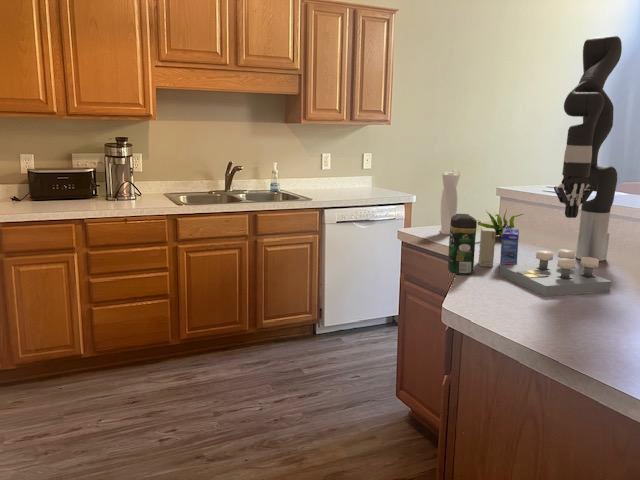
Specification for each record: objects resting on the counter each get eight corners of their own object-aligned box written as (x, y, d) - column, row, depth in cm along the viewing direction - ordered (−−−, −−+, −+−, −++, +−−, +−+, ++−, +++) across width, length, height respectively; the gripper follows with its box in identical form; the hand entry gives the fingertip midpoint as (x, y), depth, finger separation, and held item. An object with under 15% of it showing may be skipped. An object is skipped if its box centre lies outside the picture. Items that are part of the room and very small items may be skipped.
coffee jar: (445, 267, 184) (449, 211, 180) (470, 268, 184) (474, 212, 180) (449, 275, 175) (453, 216, 171) (474, 276, 174) (479, 217, 170)
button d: (566, 274, 166) (568, 257, 165) (577, 278, 161) (579, 261, 160) (552, 275, 165) (554, 258, 164) (563, 279, 160) (565, 262, 159)
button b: (588, 272, 168) (590, 256, 167) (600, 277, 164) (602, 260, 162) (575, 273, 167) (577, 257, 166) (587, 277, 162) (589, 261, 161)
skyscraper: (459, 236, 236) (464, 169, 230) (440, 235, 236) (444, 169, 230) (455, 232, 244) (459, 167, 238) (436, 231, 244) (440, 167, 238)
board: (559, 271, 182) (560, 261, 181) (610, 291, 161) (611, 280, 160) (500, 275, 176) (500, 264, 175) (544, 296, 155) (546, 285, 155)
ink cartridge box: (499, 262, 192) (503, 221, 189) (516, 264, 190) (520, 222, 187) (498, 269, 182) (502, 226, 179) (516, 271, 181) (520, 227, 178)
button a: (566, 264, 177) (568, 249, 176) (576, 268, 173) (578, 252, 172) (553, 265, 176) (555, 249, 175) (563, 269, 172) (565, 253, 171)
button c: (544, 265, 175) (546, 250, 174) (554, 269, 171) (556, 253, 170) (531, 266, 174) (533, 250, 173) (541, 270, 170) (543, 254, 169)
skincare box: (493, 267, 185) (496, 231, 182) (479, 266, 186) (482, 230, 183) (491, 262, 191) (494, 227, 188) (478, 261, 192) (481, 227, 189)
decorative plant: (461, 245, 217) (464, 208, 214) (496, 235, 239) (498, 200, 235) (505, 253, 205) (509, 214, 202) (537, 241, 227) (541, 205, 224)
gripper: (587, 159, 173) (580, 214, 177) (550, 159, 169) (544, 216, 173) (605, 161, 166) (598, 218, 169) (566, 161, 162) (560, 220, 166)
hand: (570, 217), depth 171 cm, fingers closed
